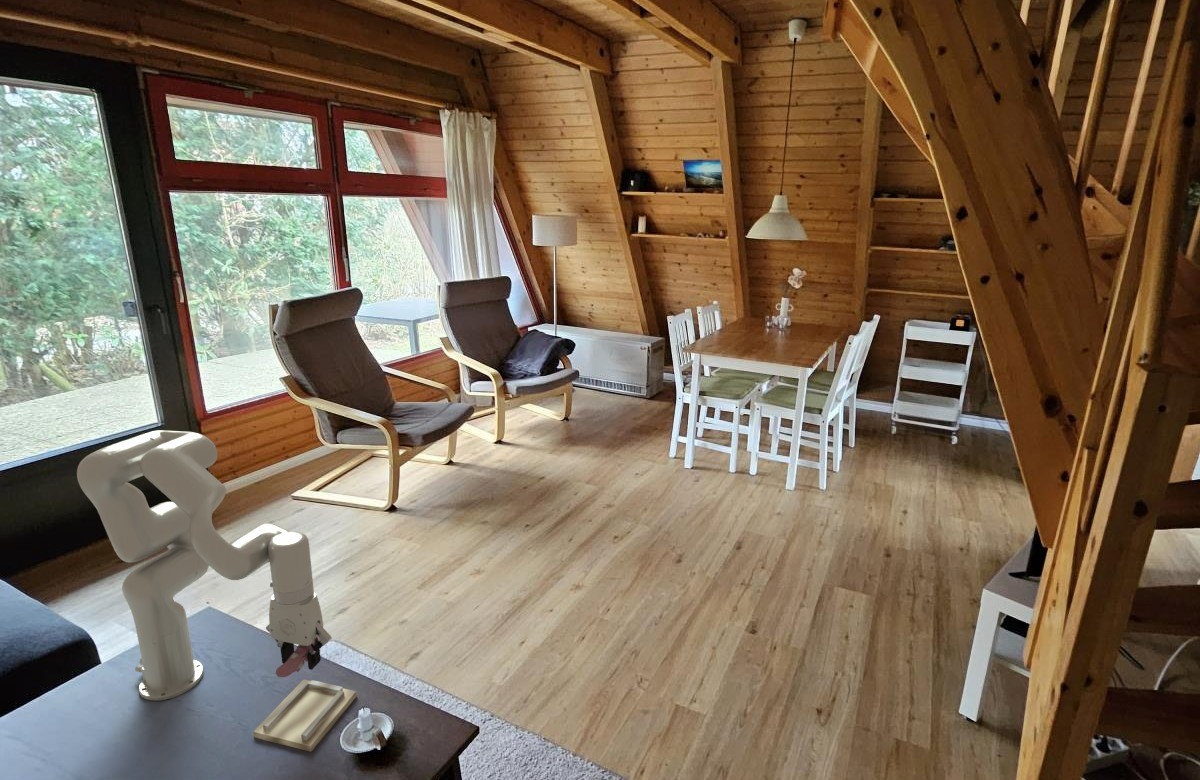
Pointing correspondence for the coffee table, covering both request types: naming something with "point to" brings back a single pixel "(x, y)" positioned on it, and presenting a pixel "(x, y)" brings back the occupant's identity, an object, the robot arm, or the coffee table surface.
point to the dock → (305, 715)
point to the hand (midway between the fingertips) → (301, 661)
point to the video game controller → (294, 661)
